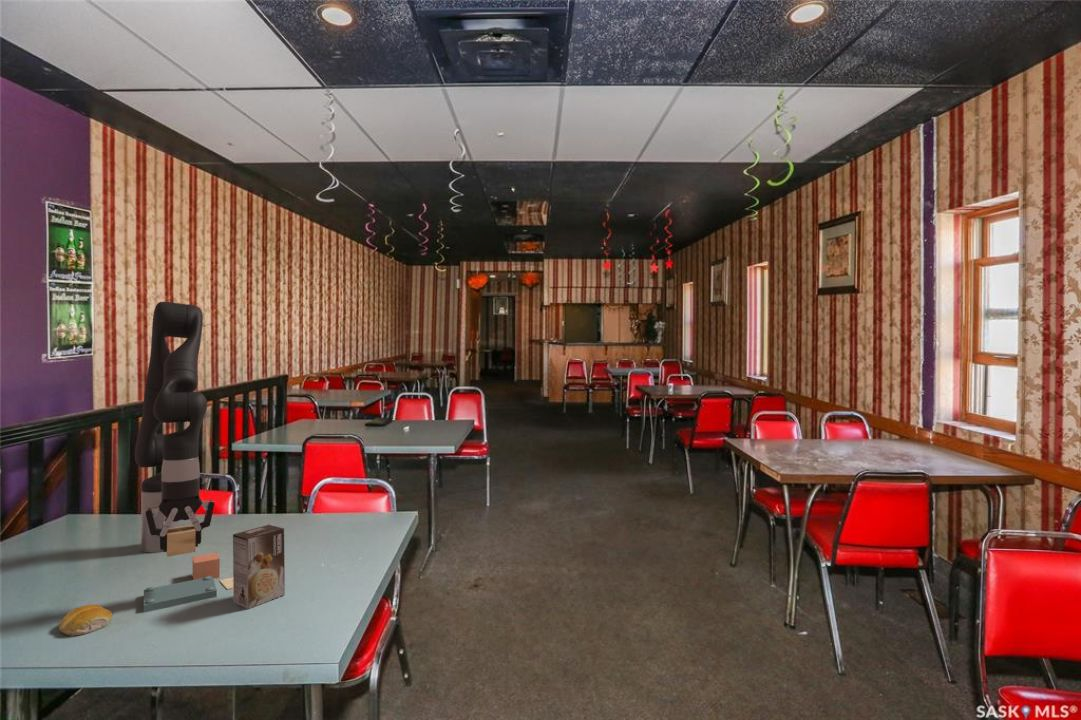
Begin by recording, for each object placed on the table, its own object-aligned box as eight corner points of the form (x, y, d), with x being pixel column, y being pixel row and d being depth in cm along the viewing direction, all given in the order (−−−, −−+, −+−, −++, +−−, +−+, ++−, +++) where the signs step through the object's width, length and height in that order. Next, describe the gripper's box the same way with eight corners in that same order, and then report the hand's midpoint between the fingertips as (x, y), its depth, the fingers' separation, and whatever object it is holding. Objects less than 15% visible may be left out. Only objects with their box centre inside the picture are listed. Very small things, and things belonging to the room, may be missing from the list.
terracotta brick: (192, 575, 143) (192, 556, 143) (217, 571, 146) (217, 552, 146) (194, 583, 139) (194, 563, 139) (219, 578, 142) (219, 558, 142)
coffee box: (269, 589, 135) (270, 523, 135) (285, 595, 132) (285, 528, 132) (232, 603, 128) (232, 533, 127) (247, 610, 124) (248, 538, 124)
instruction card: (219, 581, 140) (219, 579, 140) (262, 570, 147) (262, 569, 147) (227, 589, 135) (227, 588, 135) (271, 578, 141) (271, 577, 141)
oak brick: (166, 549, 131) (166, 528, 131) (193, 545, 135) (193, 524, 134) (167, 556, 127) (167, 534, 127) (195, 551, 130) (195, 530, 130)
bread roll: (100, 613, 122) (100, 595, 122) (117, 624, 117) (117, 606, 117) (52, 629, 115) (52, 610, 115) (68, 641, 110) (68, 621, 110)
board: (143, 595, 131) (143, 587, 131) (212, 582, 139) (212, 574, 139) (143, 612, 123) (143, 603, 123) (216, 596, 131) (216, 588, 131)
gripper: (214, 470, 138) (214, 538, 138) (143, 477, 129) (143, 550, 130) (217, 476, 132) (217, 547, 132) (143, 484, 123) (143, 559, 123)
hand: (180, 548), depth 131 cm, fingers closed on oak brick, 5 cm apart
